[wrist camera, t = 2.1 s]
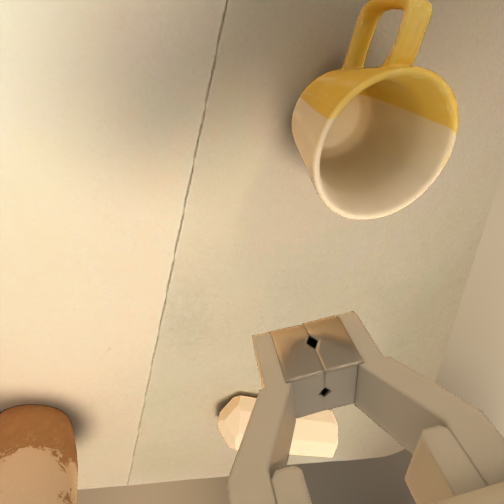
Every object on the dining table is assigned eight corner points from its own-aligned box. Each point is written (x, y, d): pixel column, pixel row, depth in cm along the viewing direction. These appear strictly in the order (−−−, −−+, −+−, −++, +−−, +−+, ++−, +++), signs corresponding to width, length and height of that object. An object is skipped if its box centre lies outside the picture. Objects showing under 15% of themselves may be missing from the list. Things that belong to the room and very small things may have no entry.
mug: (347, 180, 35) (403, 233, 26) (257, 153, 31) (289, 205, 23) (424, 32, 28) (532, 40, 20) (321, -23, 25) (398, -41, 16)
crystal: (202, 445, 53) (316, 454, 64) (224, 449, 48) (344, 458, 58) (209, 395, 57) (316, 411, 67) (230, 393, 51) (342, 411, 62)
